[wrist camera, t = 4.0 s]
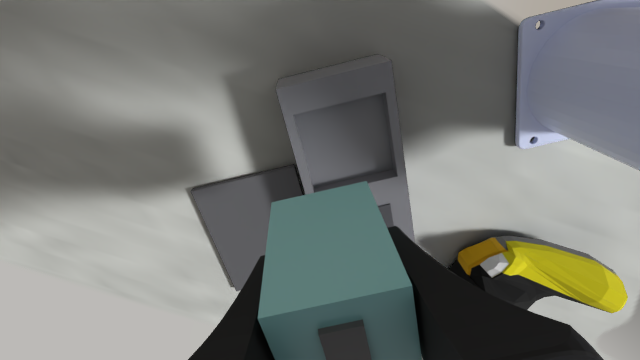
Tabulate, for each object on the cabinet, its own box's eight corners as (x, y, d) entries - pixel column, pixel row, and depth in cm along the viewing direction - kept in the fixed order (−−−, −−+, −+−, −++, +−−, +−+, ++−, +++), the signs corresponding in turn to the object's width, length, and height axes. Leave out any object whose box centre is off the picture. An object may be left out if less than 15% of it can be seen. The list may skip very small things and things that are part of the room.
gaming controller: (588, 246, 27) (493, 200, 25) (652, 297, 22) (542, 246, 20) (472, 362, 33) (385, 333, 30) (504, 423, 28) (403, 395, 25)
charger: (366, 180, 14) (414, 291, 8) (380, 256, 16) (427, 389, 10) (271, 202, 14) (256, 325, 9) (295, 275, 16) (295, 416, 10)
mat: (294, 164, 22) (294, 166, 22) (324, 268, 26) (324, 271, 26) (192, 188, 23) (190, 191, 22) (237, 287, 27) (236, 291, 26)
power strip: (278, 79, 20) (274, 91, 17) (378, 54, 20) (394, 61, 17) (334, 280, 27) (339, 317, 24) (408, 264, 27) (424, 298, 24)
